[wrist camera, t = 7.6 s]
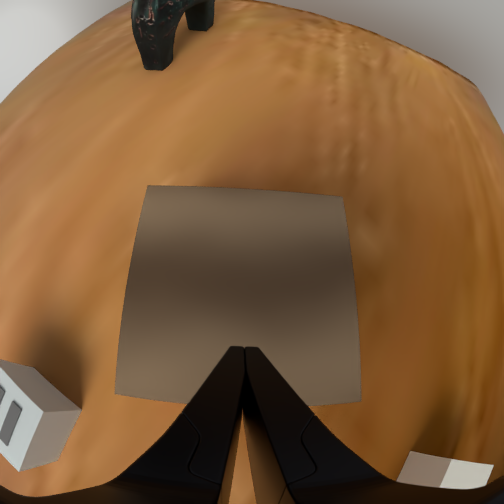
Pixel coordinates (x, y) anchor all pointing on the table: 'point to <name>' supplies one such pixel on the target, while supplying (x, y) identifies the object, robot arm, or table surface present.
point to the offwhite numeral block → (443, 472)
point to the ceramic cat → (165, 26)
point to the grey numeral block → (32, 417)
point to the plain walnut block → (239, 292)
